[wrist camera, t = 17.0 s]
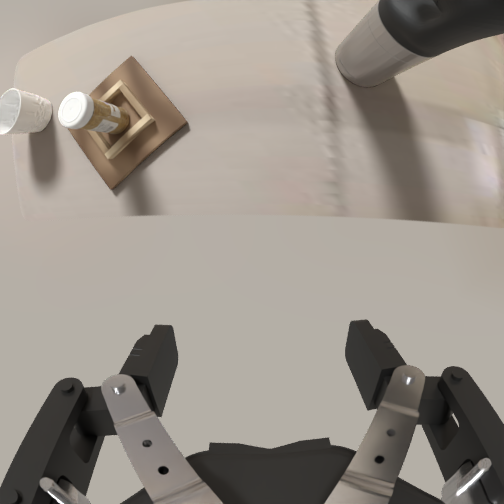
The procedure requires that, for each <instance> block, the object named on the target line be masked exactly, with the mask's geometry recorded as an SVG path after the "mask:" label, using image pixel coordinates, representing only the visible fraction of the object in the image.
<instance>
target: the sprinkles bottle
mask: <svg viewBox="0 0 504 504" xmlns="http://www.w3.org/2000/svg"><path fill="white" fill-rule="evenodd" d="M58 117H59V121H60V123H61V125H62V126H64V127H66V128H70V129H79V128H80V129H85V130H91V131H98V132H105V133H110V134H119V133H121V132H123V131H124V130H125V129H126V127H127V125H128V123H129V115H128V112H127V111H126V110H125V109H124V108H121V107H117V106H115V105H112V104H109V103H106V102H103V101H101V100H97V99H94V98H91V97H90V96H89V95H87V94H85V93H81V92H73V93H71V94H69V95H68V96H67V97H66V98H65V99H64V100H63V101H62V103H61V105H60V108H59V112H58Z"/></svg>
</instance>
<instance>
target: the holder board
mask: <svg viewBox="0 0 504 504" xmlns="http://www.w3.org/2000/svg"><path fill="white" fill-rule="evenodd" d="M89 96H90V97H91V98H94V99H97V100H101V101H103V102H106V103H109V104H112V105H115V106H117V107H121V108H124V109H125V110H126V111H127V112H128V115H129V123H128V125H127V127H126V129H125V130H124V131H123V132H121V133H119V134H110V133H105V132H98V131H91V130H85V129H80V128H79V129H70V128H68V129H69V131H70V132H71V134H72V135H73V137H74V138H75V140H76V141H77V143H78V144H79V146H80V147H81V149H82V150H83V152H84V153H85V154H86V156H87V157H88V159H89V160H90V162H91V163H92V164H93V166H94V167H95V169H96V170H97V171H98V173H99V174H100V176H101V177H102V178H103V180H104V181H105V182H106V184H107V185H108V187H109V188H110V189H111V190H112V189H115V188H116V187H117V186H118V185H119V184H120V183H121V182H122V181H123V180H124V179H125V178H126V177H127V176H128V175H129V174H130V173H131V172H132V171H133V170H134V169H135V168H136V167H137V166H138V165H139V164H140V163H141V162H143V161H144V160H145V159H146V158H147V157H148V156H149V155H150V154H151V153H153V152H154V151H155V150H156V149H157V148H158V147H159V146H160V145H162V144H163V143H164V142H165V141H166V140H167V139H169V138H170V137H171V136H172V135H173V134H175V133H176V132H177V131H178V130H180V129H181V128H182V127H183V126H185V125H186V124H187V123H188V122H187V121H186V120H185V118H184V117H183V116H182V115H181V113H180V112H179V111H178V110H177V109H176V107H175V106H174V105H173V104H172V102H171V101H170V100H169V99H168V98H167V96H166V95H165V94H164V93H163V92H162V90H161V89H160V88H159V87H158V86H157V84H156V83H155V82H154V81H153V80H152V78H151V77H150V76H149V75H148V74H147V72H146V71H145V70H144V69H143V68H142V67H141V65H140V64H139V63H138V62H137V61H136V60H135V58H134V57H132V56H131V57H129V58H128V59H127V60H126V61H125V62H123V63H122V64H121V65H120V66H119V67H118V68H117V69H116V70H114V71H113V72H112V73H111V74H110V75H109V76H108V77H107V78H106V79H105V80H104V81H103V82H102V83H101V84H100V85H99V86H98V87H97V88H96V89H95V90H94V91H93V92H92V93H91V94H90V95H89Z"/></svg>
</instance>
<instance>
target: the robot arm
mask: <svg viewBox="0 0 504 504" xmlns="http://www.w3.org/2000/svg"><path fill="white" fill-rule="evenodd" d="M503 33H504V0H379V1H378V2H377V3H376V4H375V6H374V7H373V8H372V9H371V10H370V11H369V12H368V13H367V14H366V16H365V17H364V18H363V19H362V20H361V21H360V22H359V23H358V24H357V25H356V27H355V28H354V29H353V30H352V31H351V32H350V33H349V35H348V36H347V37H346V38H345V39H344V40H343V41H342V42H341V44H340V45H339V46H338V48H337V50H336V53H335V59H336V64H337V66H338V69H339V70H340V72H341V73H342V74H343V75H344V76H345V78H347V79H348V80H349V81H350V82H352V83H354V84H356V85H359V86H362V87H373V86H376V85H378V84H380V83H382V82H384V81H386V80H388V79H390V78H392V77H394V76H396V75H398V74H400V73H402V72H404V71H406V70H408V69H410V68H412V67H414V66H416V65H418V64H421V63H423V62H425V61H427V60H429V59H431V58H433V57H435V56H438V55H440V54H442V53H444V52H447V51H449V50H451V49H454V48H456V47H459V46H462V45H464V44H467V43H469V42H473V41H476V40H479V39H483V38H487V37H491V36H495V35H499V34H503ZM345 357H346V361H347V363H348V366H349V368H350V370H351V373H352V375H353V377H354V379H355V382H356V384H357V386H358V389H359V391H360V394H361V396H362V398H363V401H364V403H365V405H366V408H367V410H372V409H377V412H376V414H375V416H374V419H373V421H372V423H371V425H370V427H369V429H368V431H367V433H366V435H365V437H364V439H363V441H362V443H361V445H360V446H359V448H358V450H357V452H356V451H354V450H351V449H349V448H345V447H341V446H336V445H331V444H330V441H329V438H322V439H313V440H304V441H298V442H295V443H291V444H288V445H284V446H280V447H277V448H273V449H266V448H260V447H254V446H249V445H244V444H239V443H238V444H236V443H210V445H209V450H208V451H203V452H198V453H196V454H192V455H190V456H188V457H186V458H184V456H183V455H182V453H181V452H180V451H179V450H178V448H177V446H176V445H175V443H174V442H173V441H172V439H171V438H170V436H169V435H168V433H167V432H166V430H165V429H164V427H163V426H162V424H161V422H160V421H159V419H158V417H161V416H162V413H163V410H164V407H165V403H166V400H167V397H168V393H169V390H170V387H171V384H172V380H173V378H174V374H175V371H176V368H177V365H178V351H177V346H176V341H175V336H174V330H173V327H172V326H171V325H155V326H154V328H153V330H152V332H151V334H150V335H144V336H142V337H141V338H140V339H139V340H137V342H136V344H135V345H134V347H133V349H132V351H131V353H130V355H129V356H128V358H127V360H126V362H125V364H124V366H123V367H122V369H121V371H120V373H119V374H117V375H113V376H110V377H109V378H107V379H106V380H105V381H104V382H103V383H102V386H100V387H87V388H84V386H83V384H82V382H81V381H80V380H78V379H76V378H65V379H63V380H61V381H59V382H58V383H57V384H56V385H55V386H54V388H53V389H52V391H51V393H50V394H49V396H48V397H47V399H46V401H45V402H44V404H43V406H42V407H41V409H40V411H39V413H38V414H37V416H36V418H35V420H34V421H33V423H32V425H31V427H30V428H29V430H28V432H27V434H26V436H25V438H24V440H23V441H22V443H21V445H20V447H19V449H18V451H17V453H16V455H15V457H14V459H13V461H12V463H11V465H10V468H9V469H8V472H7V474H6V476H5V478H4V480H3V483H2V485H1V487H0V504H91V503H90V501H89V500H88V499H87V498H86V493H87V490H88V486H89V483H90V480H91V477H92V474H93V470H94V467H95V464H96V461H97V458H98V455H99V452H100V449H101V446H102V443H103V440H104V437H105V436H106V435H118V436H119V438H120V441H121V443H122V445H123V447H124V449H125V452H126V453H127V456H128V458H129V459H130V462H131V464H132V465H133V467H134V469H135V471H136V473H137V475H138V477H139V479H140V480H141V482H142V484H143V486H144V488H143V489H141V490H140V491H138V492H137V493H136V494H134V495H133V496H131V497H130V498H128V499H127V500H125V501H123V502H122V503H120V504H504V424H503V423H502V421H501V419H500V418H499V416H498V415H497V413H496V412H495V410H494V409H493V407H492V406H491V404H490V403H489V401H488V400H487V399H486V397H485V396H484V394H483V393H482V391H481V390H480V389H479V387H478V386H477V384H476V383H475V382H474V380H473V379H472V377H471V376H470V375H469V373H468V372H467V371H465V370H464V369H462V368H460V367H455V366H451V367H447V368H446V369H444V371H443V373H442V375H441V377H427V376H425V375H424V373H423V372H422V371H421V370H420V369H419V368H417V367H414V366H410V365H407V364H406V363H405V361H404V360H403V358H402V357H401V356H400V354H399V353H398V351H397V350H396V348H394V345H393V344H392V343H391V342H390V340H389V338H388V337H387V335H386V334H385V333H383V332H382V331H380V330H379V329H374V328H373V327H372V326H371V324H370V323H369V321H368V320H358V321H351V322H350V326H349V332H348V337H347V342H346V348H345ZM453 413H454V415H455V417H456V418H457V420H458V423H459V427H458V425H457V424H456V422H455V420H454V418H453V416H452V414H453ZM417 424H420V425H422V427H423V430H424V432H425V434H426V436H427V438H428V441H429V443H430V445H431V448H432V450H433V452H434V455H435V457H436V460H437V462H438V464H439V467H440V470H441V472H442V475H443V477H444V480H445V482H446V483H445V484H444V486H443V488H442V498H441V500H440V499H438V498H436V497H434V496H432V495H430V494H428V493H426V492H424V491H422V490H421V489H419V488H417V487H415V486H413V485H411V484H410V483H408V482H406V481H404V480H402V479H401V478H399V477H398V475H399V473H400V470H401V467H402V465H403V462H404V460H405V457H406V454H407V452H408V449H409V446H410V443H411V440H412V437H413V434H414V430H415V427H416V425H417Z"/></svg>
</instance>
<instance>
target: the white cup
mask: <svg viewBox="0 0 504 504" xmlns="http://www.w3.org/2000/svg"><path fill="white" fill-rule="evenodd" d="M51 115H52V105H51V103H50V101H49V100H48V99H45V98H42V97H40V96H38V95H35V94H32V93H29V92H25V91H22V90H18V89H15V88H12V89H9V90H8V91H6V92H5V93H4V94H3V95H2V96H1V98H0V135H7V134H24V133H36V132H40V131H42V130H43V129H44V128H45V127H46V126H47V125H48V123H49V121H50V119H51Z"/></svg>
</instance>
